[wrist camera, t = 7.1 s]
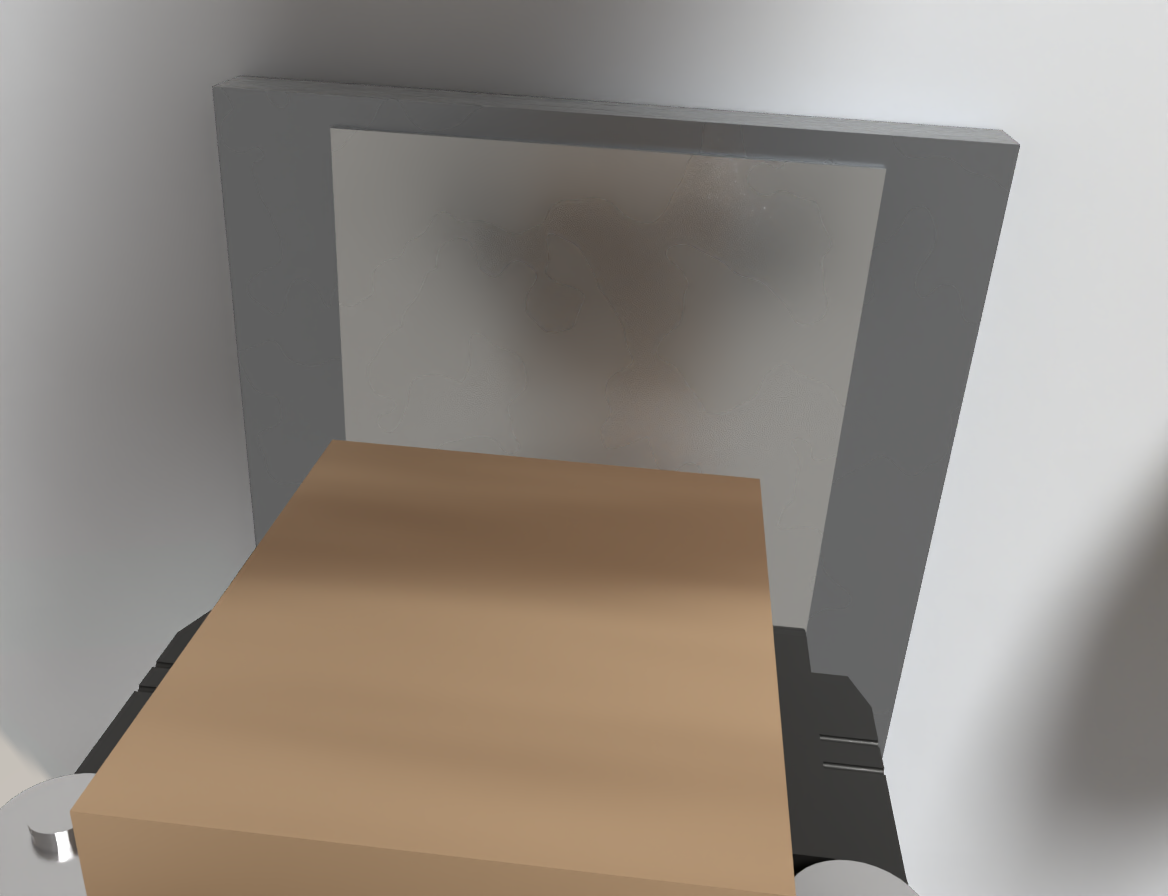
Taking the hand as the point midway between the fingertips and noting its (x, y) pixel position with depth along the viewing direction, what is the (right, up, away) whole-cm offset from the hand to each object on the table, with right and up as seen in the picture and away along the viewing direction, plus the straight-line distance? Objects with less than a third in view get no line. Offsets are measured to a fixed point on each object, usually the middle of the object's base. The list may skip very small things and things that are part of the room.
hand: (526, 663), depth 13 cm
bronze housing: (0, 0, +1) cm, 1 cm away
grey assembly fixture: (+1, 0, +10) cm, 10 cm away
